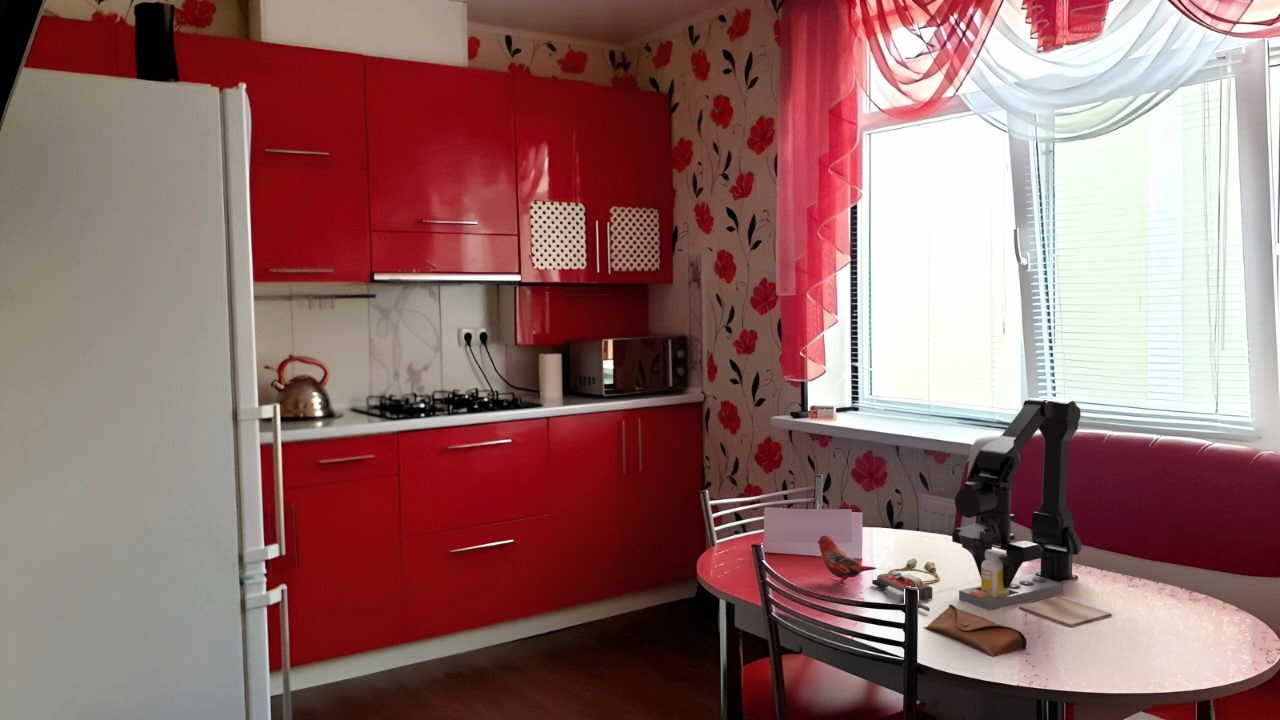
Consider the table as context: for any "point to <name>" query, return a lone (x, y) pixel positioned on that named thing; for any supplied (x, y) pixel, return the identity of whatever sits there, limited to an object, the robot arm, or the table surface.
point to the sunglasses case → (978, 632)
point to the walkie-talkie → (902, 587)
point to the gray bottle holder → (1013, 592)
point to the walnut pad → (1064, 611)
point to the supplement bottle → (993, 574)
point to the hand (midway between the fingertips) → (995, 583)
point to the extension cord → (928, 566)
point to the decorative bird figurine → (839, 560)
